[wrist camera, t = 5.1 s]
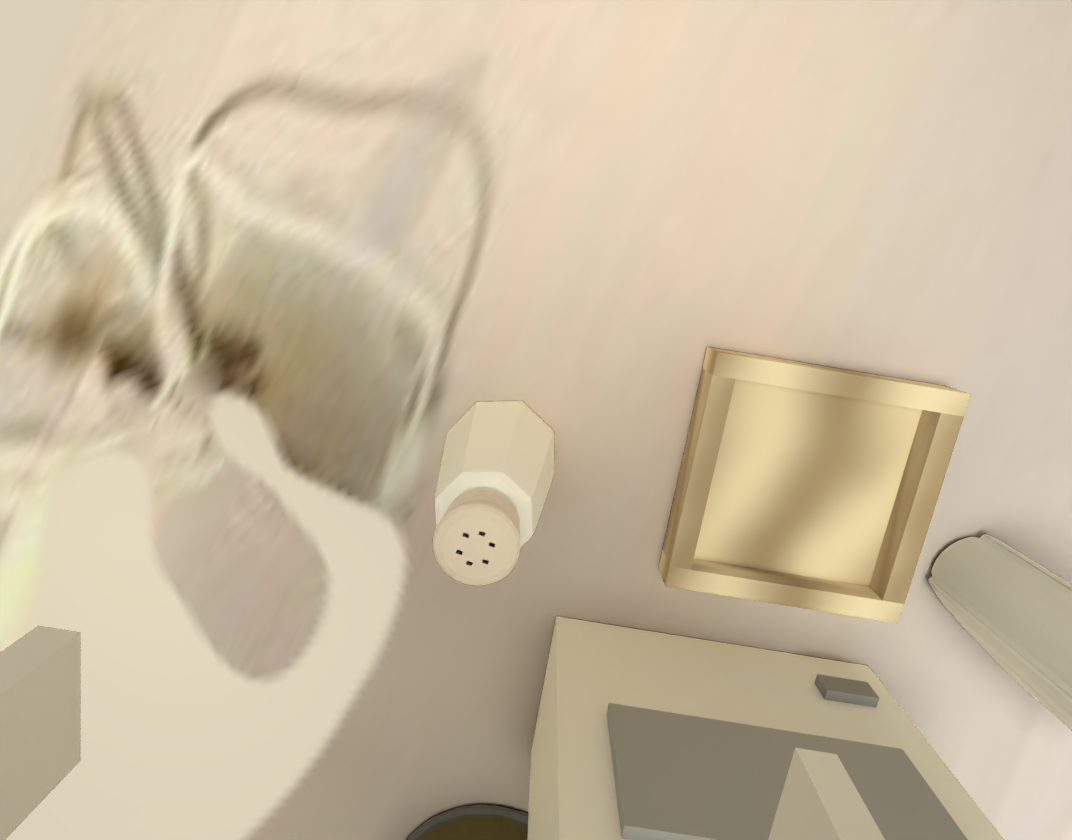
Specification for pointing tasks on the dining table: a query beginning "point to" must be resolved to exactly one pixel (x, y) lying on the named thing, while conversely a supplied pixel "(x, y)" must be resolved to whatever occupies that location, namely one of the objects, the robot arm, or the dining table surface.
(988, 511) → the dining table surface
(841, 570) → the tray
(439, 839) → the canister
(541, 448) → the pepper shaker
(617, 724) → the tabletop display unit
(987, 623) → the photo printer
